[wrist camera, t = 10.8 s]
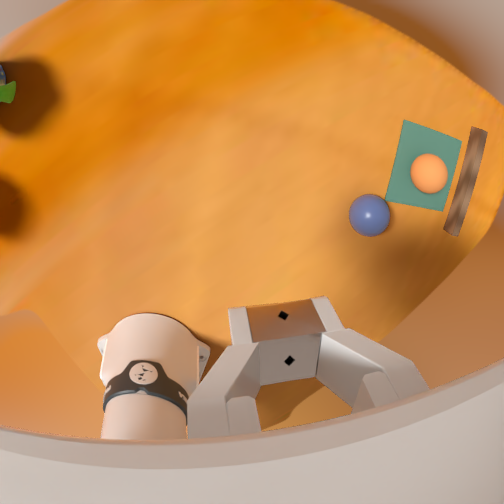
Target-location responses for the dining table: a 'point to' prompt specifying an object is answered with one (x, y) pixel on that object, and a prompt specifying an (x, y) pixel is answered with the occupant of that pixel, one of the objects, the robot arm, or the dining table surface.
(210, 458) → the robot arm
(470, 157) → the rail
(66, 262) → the dining table surface
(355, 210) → the blue ball
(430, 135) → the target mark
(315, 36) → the dining table surface
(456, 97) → the dining table surface
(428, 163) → the orange ball
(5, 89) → the snack cup
